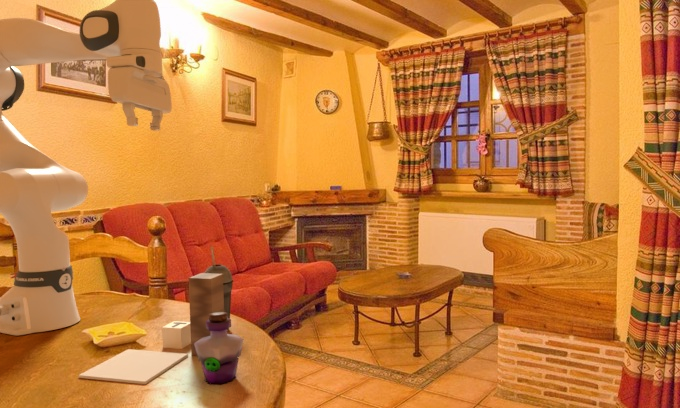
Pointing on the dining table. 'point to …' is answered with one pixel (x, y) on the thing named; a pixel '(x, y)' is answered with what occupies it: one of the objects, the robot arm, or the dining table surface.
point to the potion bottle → (219, 350)
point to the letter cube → (176, 335)
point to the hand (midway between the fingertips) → (144, 128)
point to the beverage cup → (226, 282)
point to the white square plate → (134, 366)
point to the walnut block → (204, 303)
